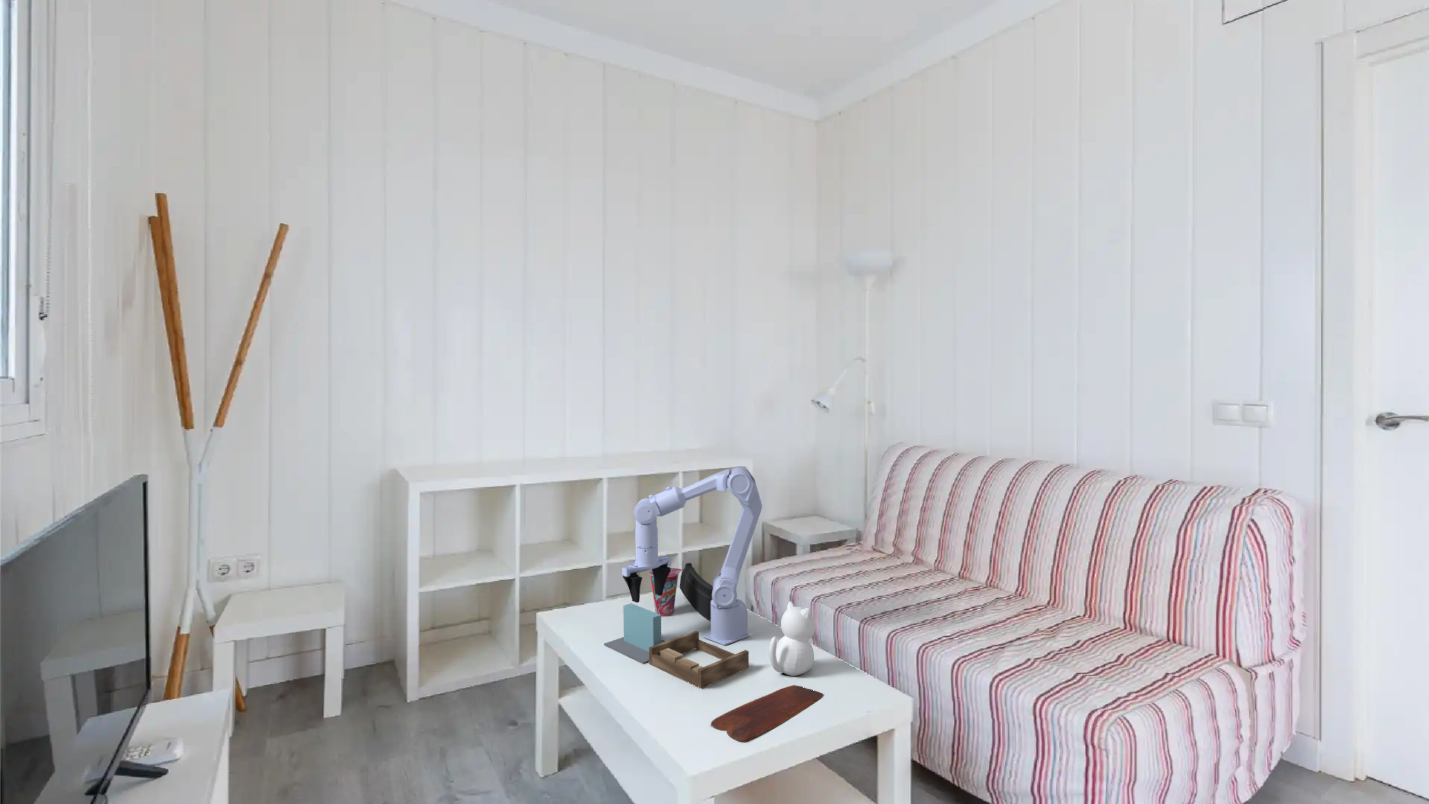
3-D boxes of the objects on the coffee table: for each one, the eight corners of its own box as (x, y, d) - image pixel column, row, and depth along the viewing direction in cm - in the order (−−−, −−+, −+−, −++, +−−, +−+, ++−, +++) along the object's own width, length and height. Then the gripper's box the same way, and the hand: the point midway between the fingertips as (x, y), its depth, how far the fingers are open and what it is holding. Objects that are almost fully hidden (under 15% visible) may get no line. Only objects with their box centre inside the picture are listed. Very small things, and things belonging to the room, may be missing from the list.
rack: (696, 646, 175) (696, 630, 175) (748, 668, 162) (748, 651, 162) (649, 664, 165) (649, 647, 165) (701, 688, 152) (700, 670, 152)
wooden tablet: (744, 748, 129) (744, 739, 129) (706, 728, 136) (706, 720, 136) (830, 699, 148) (830, 691, 148) (793, 684, 155) (793, 677, 155)
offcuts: (668, 660, 167) (667, 648, 167) (711, 680, 156) (711, 667, 156) (659, 663, 165) (659, 651, 165) (703, 683, 154) (703, 670, 154)
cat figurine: (825, 671, 161) (825, 606, 160) (785, 685, 153) (785, 617, 153) (797, 658, 168) (798, 596, 167) (758, 671, 160) (758, 606, 160)
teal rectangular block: (631, 637, 180) (631, 603, 180) (661, 651, 171) (661, 614, 171) (623, 640, 178) (623, 605, 178) (653, 654, 170) (653, 617, 169)
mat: (641, 632, 185) (641, 630, 185) (681, 649, 173) (681, 648, 173) (604, 645, 176) (604, 643, 176) (643, 664, 165) (643, 662, 165)
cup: (667, 620, 193) (667, 577, 193) (643, 615, 198) (643, 573, 197) (687, 610, 201) (686, 569, 201) (663, 605, 206) (663, 565, 205)
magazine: (732, 598, 184) (693, 541, 211) (720, 600, 183) (683, 542, 209) (725, 652, 190) (688, 590, 216) (714, 654, 188) (678, 591, 215)
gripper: (658, 538, 188) (659, 588, 189) (614, 548, 178) (615, 601, 178) (675, 542, 183) (676, 594, 184) (631, 553, 173) (632, 607, 173)
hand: (647, 598), depth 181 cm, fingers open, 7 cm apart
